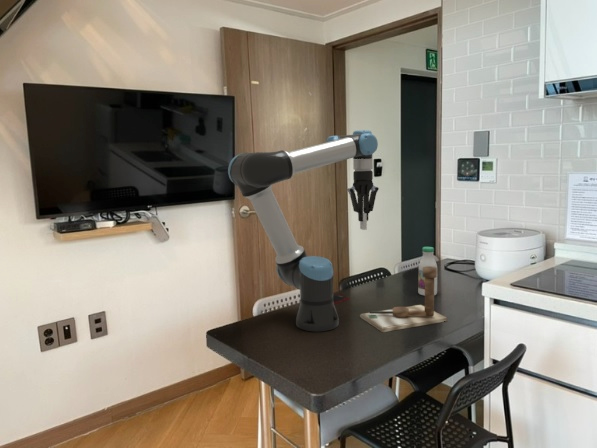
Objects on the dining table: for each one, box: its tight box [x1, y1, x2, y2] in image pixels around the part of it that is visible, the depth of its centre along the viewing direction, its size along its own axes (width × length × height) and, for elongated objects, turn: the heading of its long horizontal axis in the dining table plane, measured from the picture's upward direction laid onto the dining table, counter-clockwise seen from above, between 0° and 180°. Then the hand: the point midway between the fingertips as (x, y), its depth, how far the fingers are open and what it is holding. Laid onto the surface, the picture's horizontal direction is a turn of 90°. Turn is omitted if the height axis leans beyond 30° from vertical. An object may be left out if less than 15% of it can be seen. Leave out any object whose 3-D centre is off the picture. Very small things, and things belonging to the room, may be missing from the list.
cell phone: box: [333, 293, 350, 306], centre depth 188 cm, size 8×15×1 cm, turn 136°
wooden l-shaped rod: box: [369, 266, 438, 317], centre depth 163 cm, size 23×6×17 cm, turn 84°
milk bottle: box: [417, 246, 438, 297], centre depth 193 cm, size 8×8×20 cm
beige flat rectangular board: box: [359, 304, 448, 333], centre depth 165 cm, size 26×16×2 cm, turn 110°
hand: (363, 229), depth 185 cm, fingers closed
